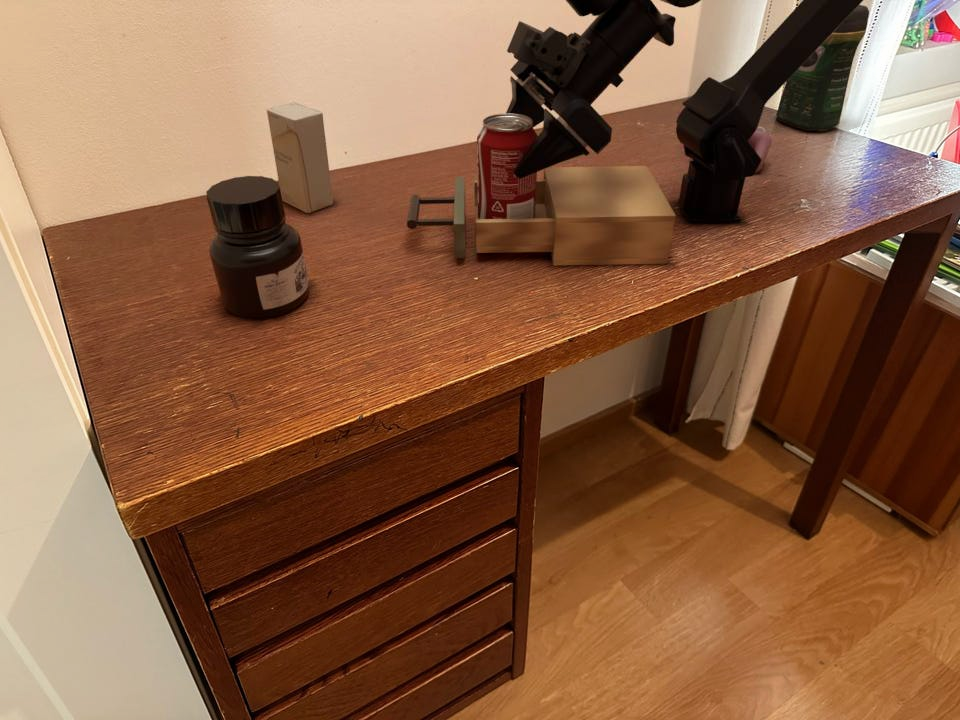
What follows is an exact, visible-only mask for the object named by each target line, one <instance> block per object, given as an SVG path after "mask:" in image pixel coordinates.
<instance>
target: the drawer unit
mask: <svg viewBox="0 0 960 720" xmlns="http://www.w3.org/2000/svg"><path fill="white" fill-rule="evenodd" d="M543 179H546V183H547V188H548V192H549V196H550V200H551V204H552V208H553V213H554V217H555V234H554V250H553V252H550V257H551V261H552V265H553V266H554V267H555V266H609V265H610V266H611V265H612V266H613V265H614V266H615V265H664V264H665V265H667V264H668V263H669V258H670V252H671V246H672V241H673V233H674V228H675V224H676V223H675V222H676V217H677V215H676V214H675V211H674V210H673V208H672V206H671V205H670V203H669V201H668V199H667V198H666V196H665V194H664V192H663V190H662V188H661V187H660V185H659V183H658V182H657V180H656V178H655V176H654V174H653V173H652V172H651V169H650V168H649V166H648V165H618V166H617V165H615V166H614V165H613V166H612V165H611V166H550V167H548V168H545V169H543Z"/></svg>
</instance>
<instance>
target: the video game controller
mask: <svg viewBox="0 0 960 720" xmlns="http://www.w3.org/2000/svg"><path fill="white" fill-rule="evenodd" d="M748 142H749V144H750V145H751V146H752V148H753V149H754V150H755V151H756V153H757V154H758V155H759V157H760V158H761V163H760V165H759V166H758V168H757V170H756V172H755V174H757V173H759V171H760V170H761V169H762V168H763V165H764V164H765V161H766V159H767V157H768V154H769V151H770V148H771V146H772V143H773V142H772V136H771V134H770V133H769V132H768V131H767V130H766V129H765V127H762V126H760V125H758V127H757V129H756V131H755V133H754V134H753V135H752V137H751V138H750V139H749V141H748Z"/></svg>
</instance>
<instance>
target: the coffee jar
mask: <svg viewBox="0 0 960 720" xmlns="http://www.w3.org/2000/svg"><path fill="white" fill-rule="evenodd" d="M869 16H870V10H869V7H868V6H867V5H863V4H860V5H859V6H858V7H857V8H856V9H855V10H854V11H853V12H852V13H851V14H850V15H849V16H848V17H847V18H846V19H845V20H844V21H843V22H842V23H841V25H840V26H839V27H838V28H837V29H836V30H835V31H834V32H833V33H832V34H831V35H830V36H829V37H828V38H827V39H826V40H825V41H824V42H823V43H822V45H821V46H820V47H819V48H818V49H817V50H816V51H815V52H814V53H813V54H812V55H811V56H810V57H809V58H808V59H807V60H806V61H805V62H804V63H803V64H802V66H801V67H800V68H799V69H798V70H797V71H796V72H795V73H794V74H793V75H792V76H791V77H790V78H789V79H788V80H787V81H786V82H785V84H784V88H783V90H782V94H781V97H780V99H779V103H778V107H777V111H776V115H775V116H776V119H777V120H778V121H780V122H782V123H783V124H784V123H785V124H786V125H789V126H791V127H794V128H797V129H800V130H804V131H819V132H826V131H829V130H832V129H834V128H836V127H837V126H838V125H839V124H840V122H841V121H840V120H841V117H842V112H843V108H844V104H845V98H846V93H847V88H848V83H849V80H850V75H851V71H852V67H853V63H854V58H855V55H856V52H857V50H858V47H859V45H860V44H861V41H862V40H863V39H864V37H865V35H866V32H867V29H868V21H869V18H870V17H869Z"/></svg>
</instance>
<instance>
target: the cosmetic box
mask: <svg viewBox="0 0 960 720" xmlns="http://www.w3.org/2000/svg"><path fill="white" fill-rule="evenodd" d="M266 114H267V120H268V125H269V133H270V138H271V143H272V149H273V155H274V162H275V167H276V174H277V180H278V181H277V182H279V186H280V191H281V196H282V201H283V203H285V204H288V205H290V206H292V207H294V208H296V209H298V210H300V211H301V212H304V213H305V214H310V213H313V212H315V211H319V210H322V209H324V208H327V207H330V206H332V205H334V198H333V191H332V190H333V189H332V180H331V173H330V165H329V156H328V147H327V142H326V141H327V140H326V132H325V122H324V113H323V112H322V111H320V110H317V109H314V108H312V107H309V106H306V105H303V104H300V103H297V102H295V101H293V102H289V103H285V104H281V105H278V106H274V107H269V108H266Z"/></svg>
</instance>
